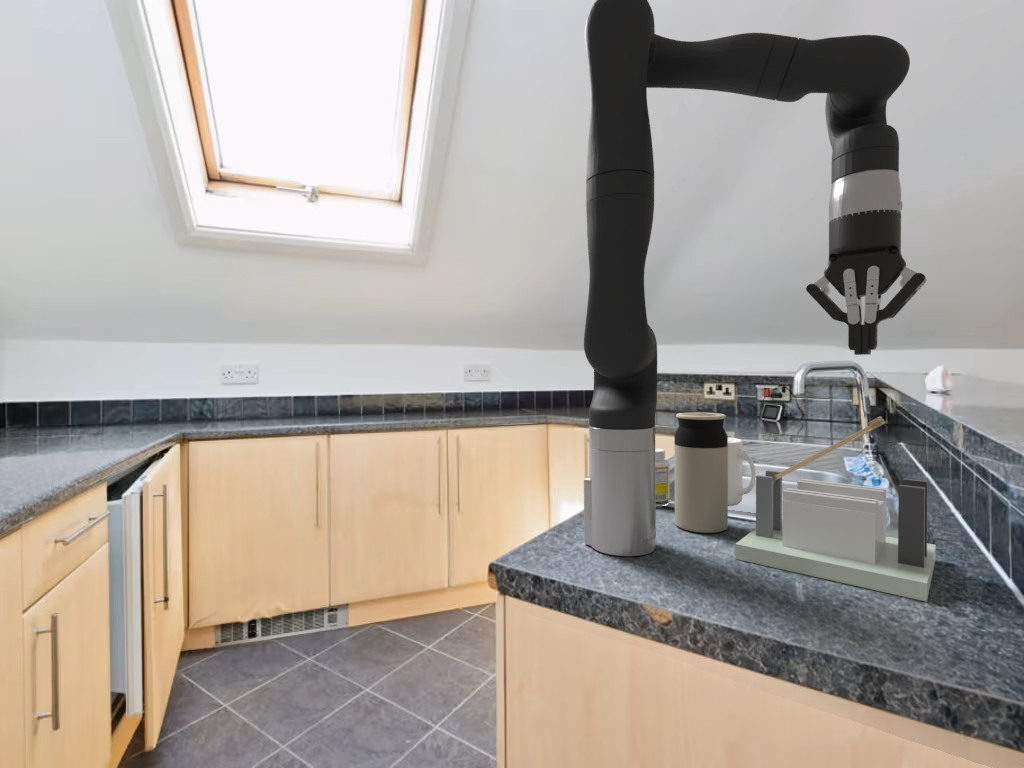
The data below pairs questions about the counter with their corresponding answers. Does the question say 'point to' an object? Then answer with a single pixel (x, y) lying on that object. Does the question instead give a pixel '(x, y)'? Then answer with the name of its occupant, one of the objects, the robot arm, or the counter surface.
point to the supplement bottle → (662, 478)
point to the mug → (737, 471)
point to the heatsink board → (843, 567)
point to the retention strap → (831, 447)
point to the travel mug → (701, 472)
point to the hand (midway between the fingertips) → (862, 354)
